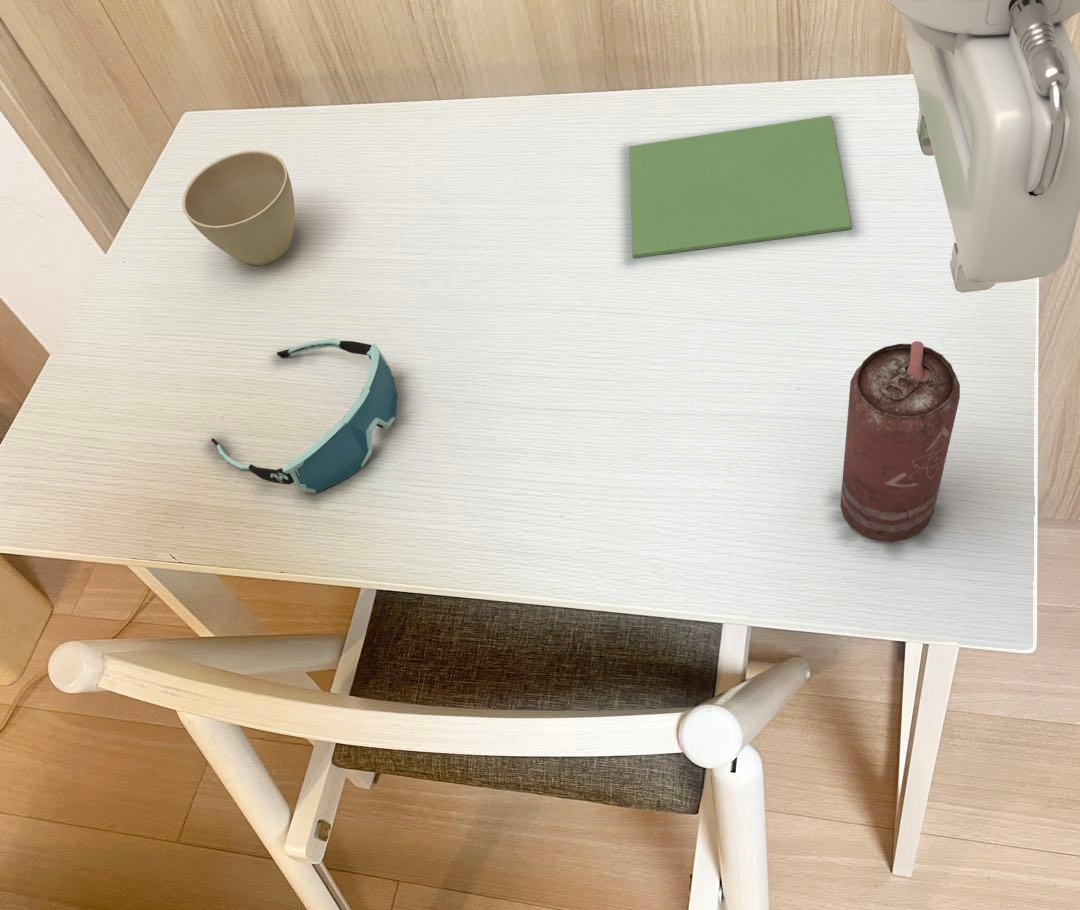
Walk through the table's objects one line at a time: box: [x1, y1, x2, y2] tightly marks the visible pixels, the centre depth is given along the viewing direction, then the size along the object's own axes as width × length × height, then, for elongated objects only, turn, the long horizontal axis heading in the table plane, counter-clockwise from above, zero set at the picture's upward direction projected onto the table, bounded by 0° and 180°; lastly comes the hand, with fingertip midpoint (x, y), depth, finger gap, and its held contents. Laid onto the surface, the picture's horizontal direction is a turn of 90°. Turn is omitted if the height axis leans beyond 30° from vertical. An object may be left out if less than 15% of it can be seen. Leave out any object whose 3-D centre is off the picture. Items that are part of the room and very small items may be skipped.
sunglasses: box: [210, 338, 398, 494], centre depth 84 cm, size 14×15×5 cm
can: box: [839, 340, 961, 543], centre depth 65 cm, size 6×6×14 cm
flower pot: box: [181, 149, 296, 266], centre depth 96 cm, size 10×10×7 cm
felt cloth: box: [629, 115, 852, 259], centre depth 90 cm, size 18×14×1 cm
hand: (953, 209), depth 50 cm, fingers open, 8 cm apart
